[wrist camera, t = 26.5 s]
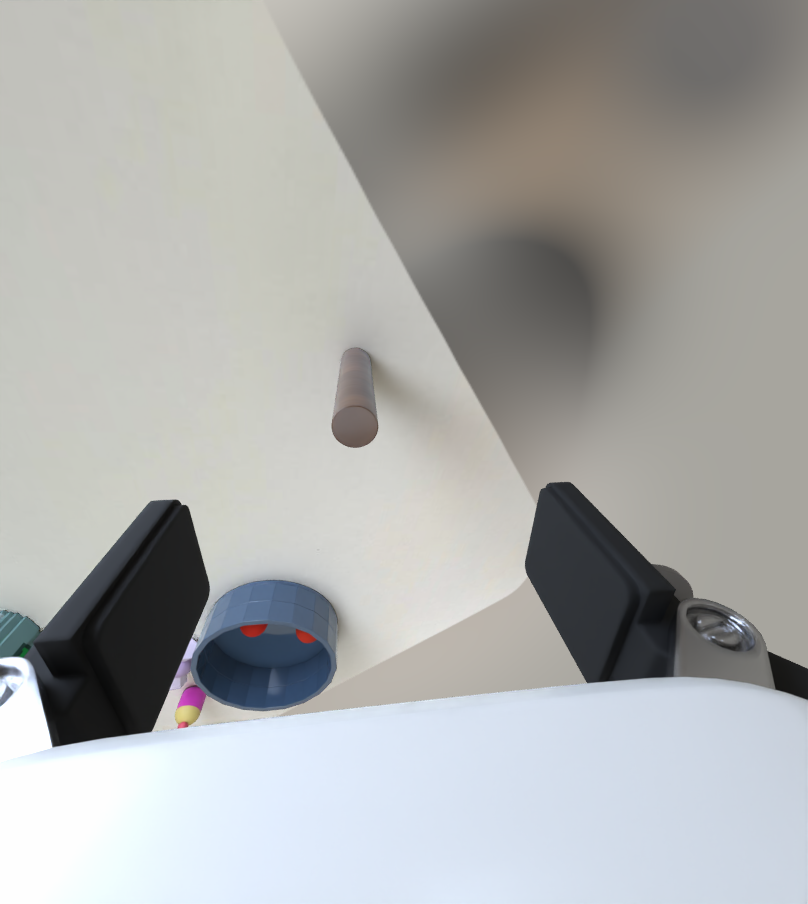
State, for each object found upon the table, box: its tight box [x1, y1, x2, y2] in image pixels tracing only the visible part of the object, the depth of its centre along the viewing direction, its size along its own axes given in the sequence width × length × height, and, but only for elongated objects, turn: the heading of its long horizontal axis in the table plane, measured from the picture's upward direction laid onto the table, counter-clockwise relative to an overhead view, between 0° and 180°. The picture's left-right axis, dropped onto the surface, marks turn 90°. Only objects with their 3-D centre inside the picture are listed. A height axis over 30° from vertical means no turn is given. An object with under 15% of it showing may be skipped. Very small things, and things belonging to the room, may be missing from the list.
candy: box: [170, 639, 206, 729], centre depth 47 cm, size 18×8×6 cm, turn 154°
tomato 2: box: [296, 629, 317, 643], centre depth 45 cm, size 3×3×3 cm
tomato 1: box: [240, 624, 268, 637], centre depth 44 cm, size 3×3×3 cm
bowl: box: [190, 580, 338, 711], centre depth 45 cm, size 15×15×6 cm
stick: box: [332, 348, 378, 448], centre depth 28 cm, size 3×3×14 cm
